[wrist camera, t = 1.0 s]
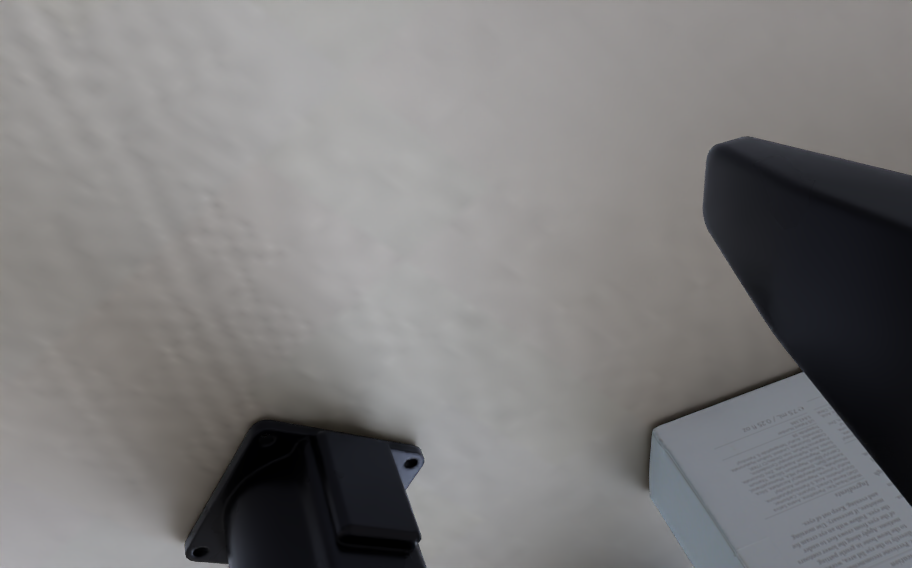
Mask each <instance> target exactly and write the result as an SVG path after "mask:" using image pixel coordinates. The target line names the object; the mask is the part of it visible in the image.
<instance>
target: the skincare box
mask: <svg viewBox="0 0 912 568" xmlns="http://www.w3.org/2000/svg"><path fill="white" fill-rule="evenodd" d="M649 489H650V498H651V499H652V501H653V503H654V504H655V506H656V507H657V509H658V510H659V512H660V514H661V515H662V517H663V518H664V520H665V521H666V523H667V525H668V526H669V528H670V529H671V531H672V533H673V534H674V536H675V537H676V539H677V541H678V542H679V544H680V545H681V547H682V549H683V550H684V552H685V553H686V555H687V557H688V558H689V560H690V561H691V563H692V565H693V566H694V568H912V507H911V506H910V505H909V503H908V502H907V501H906V500H905V498H904V497H903V496H902V495H901V493H900V492H899V491H898V490H897V488H896V487H895V486H894V485H893V483H892V482H891V481H890V480H889V478H888V477H887V476H886V475H885V473H884V472H883V471H882V470H881V468H880V467H879V466H878V465H877V463H876V462H875V461H874V460H873V458H872V457H871V456H870V455H869V453H868V452H867V451H866V450H865V448H864V447H863V446H862V445H861V443H860V442H859V441H858V440H857V438H856V437H855V436H854V435H853V433H852V432H851V431H850V430H849V428H848V427H847V426H846V425H845V423H844V422H843V421H842V420H841V418H840V417H839V416H838V415H837V413H836V412H835V411H834V410H833V408H832V407H831V406H830V405H829V403H828V402H827V401H826V400H825V398H824V397H823V396H822V394H821V393H820V392H819V391H818V389H817V388H816V387H815V386H814V384H813V383H812V382H811V381H810V379H809V378H808V377H807V376H806V374H805V373H804V372H801V373H799V374H796V375H793V376H791V377H788V378H785V379H783V380H780V381H777V382H775V383H772V384H769V385H767V386H764V387H761V388H759V389H756V390H753V391H751V392H748V393H745V394H743V395H740V396H737V397H735V398H732V399H729V400H727V401H724V402H721V403H719V404H716V405H713V406H711V407H708V408H705V409H703V410H700V411H697V412H695V413H692V414H689V415H687V416H684V417H681V418H679V419H676V420H674V421H671V422H668V423H666V424H663V425H660V426H658V427H656V428H655V429H653V433H652V441H651V455H650V469H649Z"/></svg>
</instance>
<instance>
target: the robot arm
mask: <svg viewBox="0 0 912 568" xmlns="http://www.w3.org/2000/svg"><path fill="white" fill-rule="evenodd" d="M703 217H704V221H705V224H706V227H707V229H708V231H709V233H710V234H711V236H712V238H713V239H714V241H715V242H716V244H717V246H718V247H719V249H720V250H721V252H722V254H723V255H724V257H725V258H726V260H727V262H728V263H729V265H730V266H731V268H732V270H733V271H734V273H735V274H736V276H737V277H738V279H739V281H740V282H741V284H742V285H743V287H744V289H745V290H746V292H747V293H748V295H749V297H750V298H751V300H752V301H753V303H754V305H755V306H756V308H757V309H758V311H759V313H760V314H761V316H762V317H763V319H764V320H765V322H766V323H767V325H768V326H769V328H770V329H771V331H772V332H773V334H774V335H775V336H776V338H777V339H778V340H779V341H780V343H781V344H782V345H783V347H784V348H785V349H786V351H787V352H788V353H789V354H790V356H791V357H792V358H793V359H794V361H795V362H796V363H797V364H798V366H799V367H800V368H801V369H802V371H803V372H804V373H805V374H806V376H807V377H808V378H809V379H810V381H811V382H812V383H813V384H814V386H815V387H816V388H817V389H818V391H819V392H820V393H821V394H822V396H823V397H824V398H825V400H826V401H827V402H828V403H829V405H830V406H831V407H832V408H833V410H834V411H835V412H836V413H837V415H838V416H839V417H840V418H841V420H842V421H843V422H844V423H845V425H846V426H847V427H848V428H849V430H850V431H851V432H852V433H853V435H854V436H855V437H856V438H857V440H858V441H859V442H860V443H861V445H862V446H863V447H864V448H865V450H866V451H867V452H868V453H869V455H870V456H871V457H872V458H873V460H874V461H875V462H876V463H877V465H878V466H879V467H880V468H881V470H882V471H883V472H884V473H885V475H886V476H887V477H888V478H889V480H890V481H891V482H892V483H893V485H894V486H895V487H896V488H897V490H898V491H899V492H900V493H901V495H902V496H903V497H904V498H905V500H906V501H907V502H908V503H909V505H910V506H911V507H912V175H907V174H903V173H899V172H895V171H891V170H887V169H883V168H878V167H874V166H870V165H866V164H862V163H858V162H853V161H849V160H845V159H841V158H837V157H833V156H829V155H824V154H820V153H816V152H812V151H808V150H804V149H799V148H795V147H791V146H787V145H783V144H779V143H775V142H770V141H766V140H762V139H758V138H754V137H748V136H747V137H740V138H737V139H733V140H730V141H727V142H723V143H720V144H717V145H715V146H713V147H712V148H711V149H710V151H709V153H708V155H707V160H706V171H705V184H704V197H703ZM265 434H270V435H268V436H266V437H261V436H263V435H265ZM409 459H410V460H409ZM423 464H424V457H423V454H422V452H421V449H420V448H419V447H417V446H414V445H409V444H403V443H397V442H392V441H386V440H380V439H375V438H369V437H364V436H358V435H352V434H347V433H341V432H335V431H330V430H324V429H318V428H313V427H307V426H302V425H296V424H290V423H285V422H279V421H273V420H263V421H259V422H257V423H255V424H254V425H253V426H252V427H251V428H250V429H249V431H248V433H247V435H246V436H245V438H244V440H243V442H242V443H241V445H240V447H239V449H238V450H237V452H236V454H235V456H234V458H233V459H232V461H231V463H230V465H229V466H228V468H227V470H226V472H225V473H224V475H223V477H222V479H221V480H220V482H219V484H218V486H217V487H216V489H215V491H214V493H213V494H212V496H211V498H210V500H209V501H208V503H207V505H206V507H205V508H204V510H203V512H202V514H201V515H200V517H199V519H198V521H197V522H196V524H195V526H194V528H193V529H192V531H191V533H190V535H189V536H188V538H187V540H186V542H185V555H186V557H187V558H188V559H189V560H191V561H195V562H208V563H221V564H229V568H426V565H425V562H424V559H423V556H422V553H421V550H420V547H419V544H418V543H419V542H420V540H421V533H420V530H419V528H418V525H417V522H416V519H415V516H414V513H413V511H412V508H411V505H410V502H409V499H408V496H407V494H406V491H405V490H406V489H407V487H408V486H409V484H410V483H411V481H412V480H413V479H414V477H415V476H416V474H417V473H418V472H419V470H420V469H421V467H422V466H423Z"/></svg>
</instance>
